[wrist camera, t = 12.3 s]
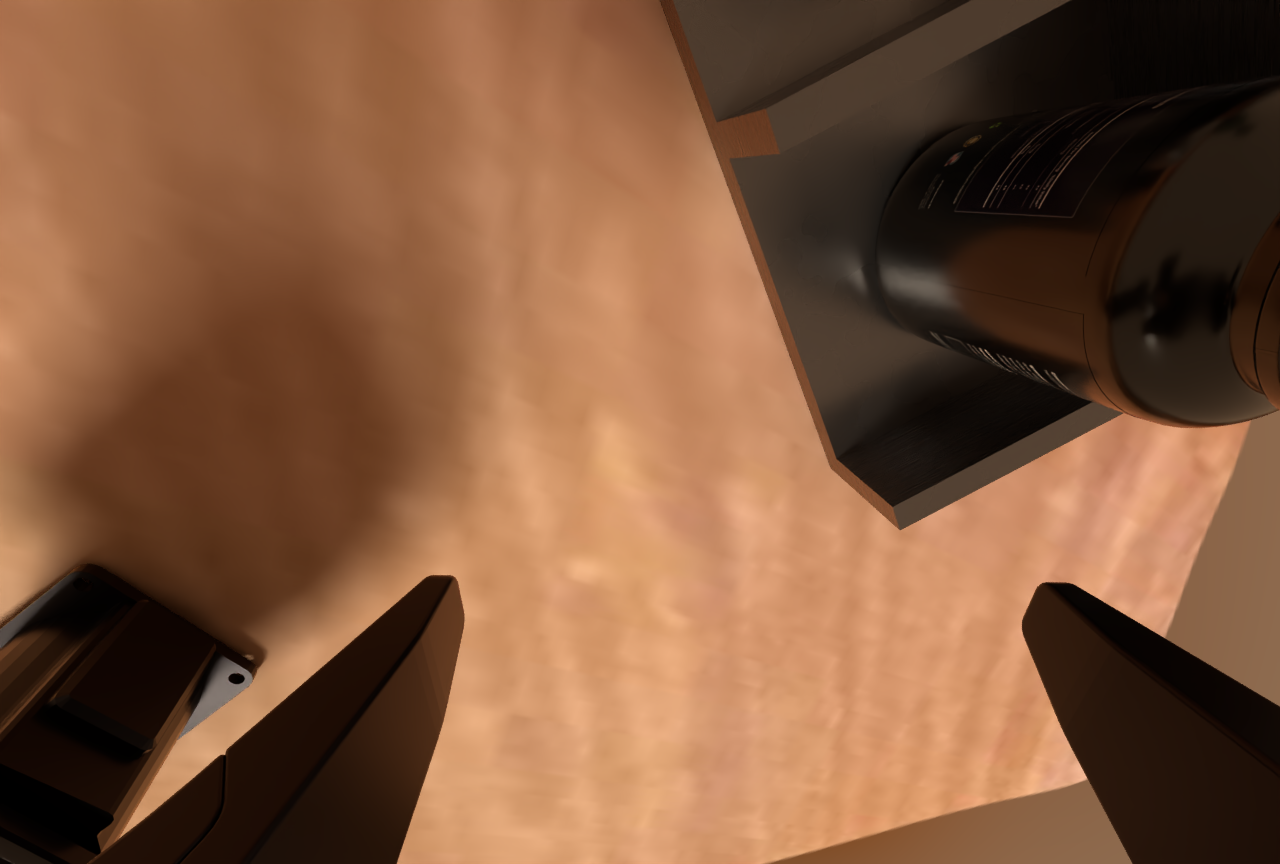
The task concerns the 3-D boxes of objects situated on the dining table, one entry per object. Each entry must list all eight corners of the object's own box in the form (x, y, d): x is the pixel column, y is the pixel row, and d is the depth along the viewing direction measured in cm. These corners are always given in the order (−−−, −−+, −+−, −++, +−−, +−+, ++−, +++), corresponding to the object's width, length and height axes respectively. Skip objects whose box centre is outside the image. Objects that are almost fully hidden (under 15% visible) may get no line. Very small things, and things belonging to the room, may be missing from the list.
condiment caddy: (830, 468, 23) (978, 601, 16) (557, -282, 13) (612, -823, 6) (1128, 311, 23) (1414, 372, 16) (1067, -554, 13) (1728, -1421, 6)
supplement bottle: (1083, 249, 20) (1743, 329, 9) (921, 378, 21) (1360, 591, 10) (1012, 62, 17) (1848, -132, 7) (827, 220, 18) (1302, 280, 7)
